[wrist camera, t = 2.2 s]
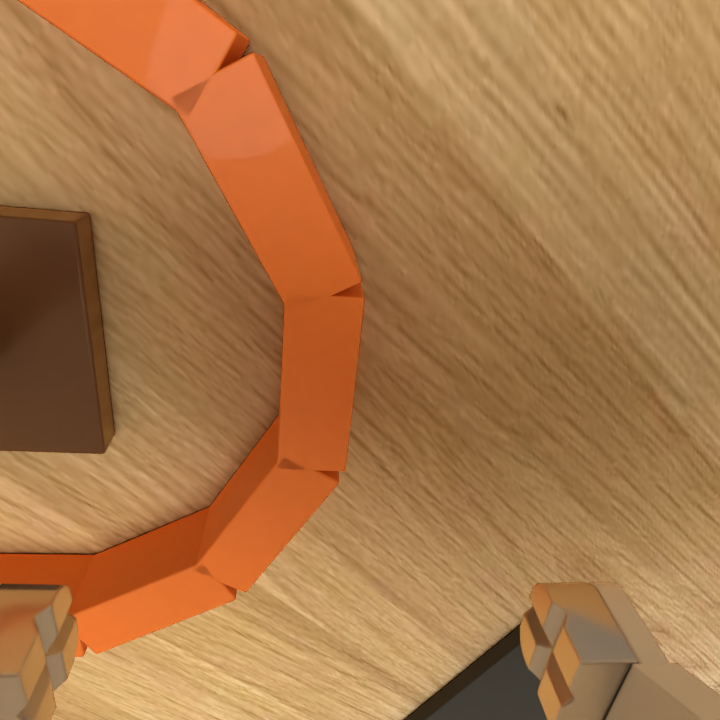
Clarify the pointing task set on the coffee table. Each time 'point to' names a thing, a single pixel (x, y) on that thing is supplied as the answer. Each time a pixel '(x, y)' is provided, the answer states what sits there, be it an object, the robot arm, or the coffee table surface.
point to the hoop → (300, 325)
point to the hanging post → (51, 336)
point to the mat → (489, 689)
